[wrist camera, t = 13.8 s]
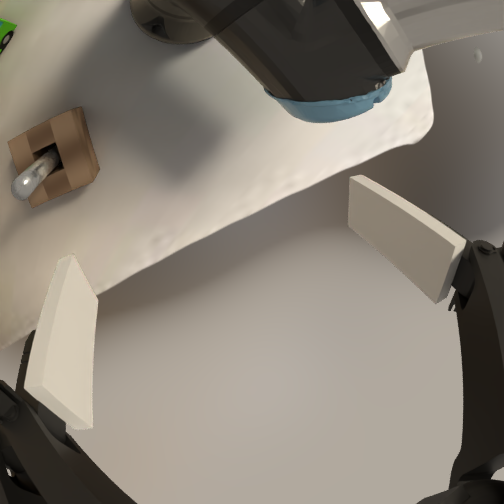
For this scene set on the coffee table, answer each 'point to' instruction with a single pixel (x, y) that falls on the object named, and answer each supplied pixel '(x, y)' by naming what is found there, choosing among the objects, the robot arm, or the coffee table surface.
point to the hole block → (70, 149)
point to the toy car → (5, 32)
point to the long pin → (35, 174)
